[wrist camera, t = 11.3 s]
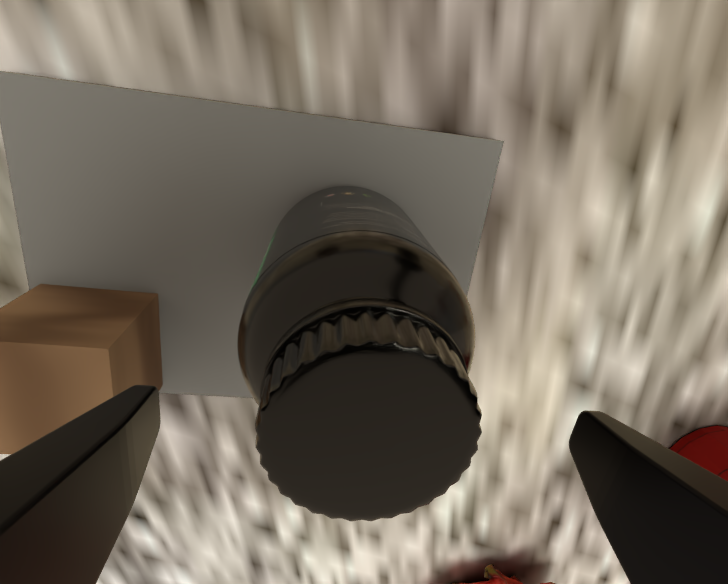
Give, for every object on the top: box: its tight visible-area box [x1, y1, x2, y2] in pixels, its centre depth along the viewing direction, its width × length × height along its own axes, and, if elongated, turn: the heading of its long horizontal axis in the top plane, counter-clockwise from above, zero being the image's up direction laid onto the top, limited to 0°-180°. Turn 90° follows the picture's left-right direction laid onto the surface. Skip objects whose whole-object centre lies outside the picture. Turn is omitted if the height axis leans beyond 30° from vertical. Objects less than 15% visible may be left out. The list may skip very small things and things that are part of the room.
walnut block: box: [0, 284, 163, 454], centre depth 18 cm, size 5×5×5 cm
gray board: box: [0, 71, 504, 398], centre depth 21 cm, size 20×14×1 cm
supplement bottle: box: [237, 186, 482, 521], centre depth 15 cm, size 7×7×12 cm
